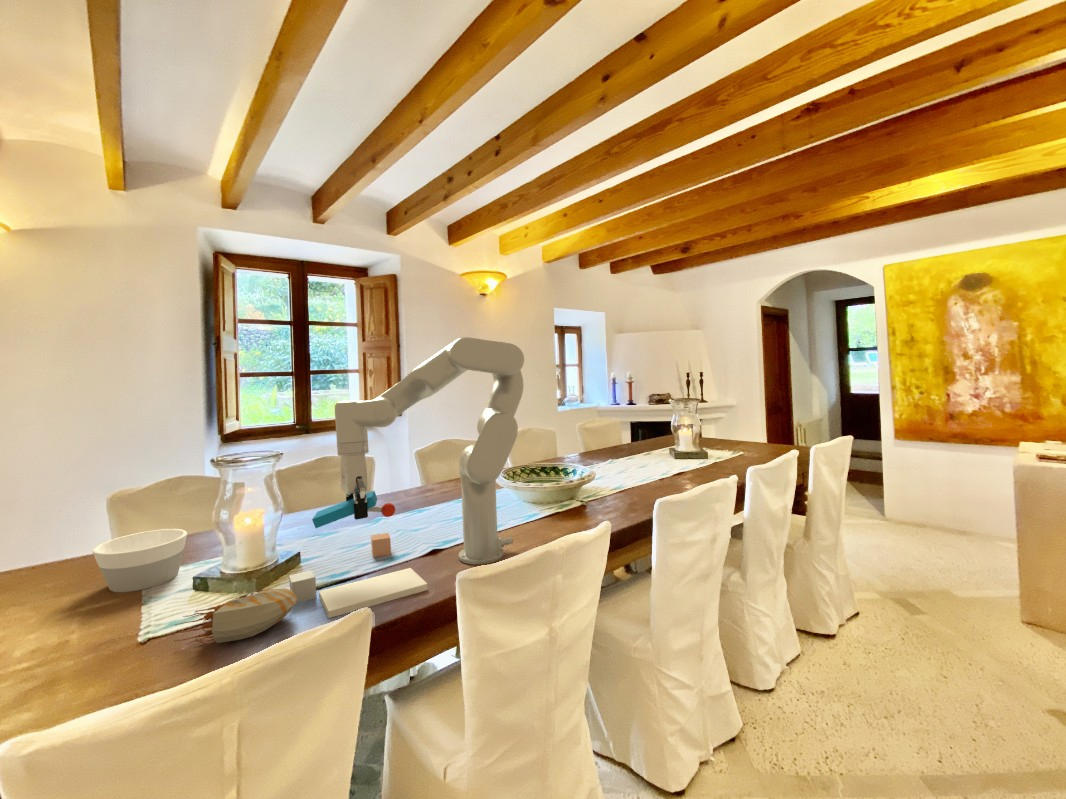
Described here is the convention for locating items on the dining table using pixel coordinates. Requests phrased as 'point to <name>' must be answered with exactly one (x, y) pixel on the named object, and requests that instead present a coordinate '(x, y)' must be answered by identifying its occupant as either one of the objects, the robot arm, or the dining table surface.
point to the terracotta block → (380, 544)
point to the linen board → (371, 591)
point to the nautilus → (245, 615)
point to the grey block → (303, 585)
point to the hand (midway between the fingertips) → (357, 514)
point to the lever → (350, 510)
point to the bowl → (141, 559)
